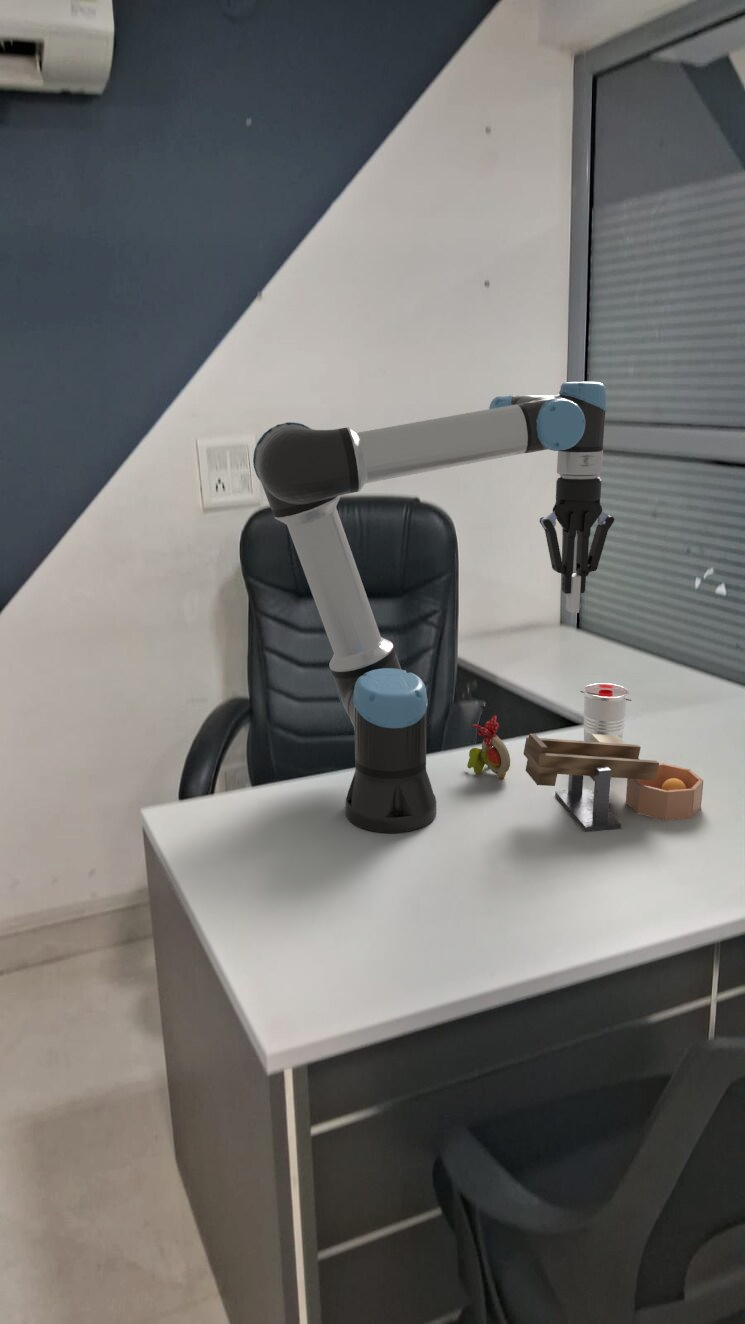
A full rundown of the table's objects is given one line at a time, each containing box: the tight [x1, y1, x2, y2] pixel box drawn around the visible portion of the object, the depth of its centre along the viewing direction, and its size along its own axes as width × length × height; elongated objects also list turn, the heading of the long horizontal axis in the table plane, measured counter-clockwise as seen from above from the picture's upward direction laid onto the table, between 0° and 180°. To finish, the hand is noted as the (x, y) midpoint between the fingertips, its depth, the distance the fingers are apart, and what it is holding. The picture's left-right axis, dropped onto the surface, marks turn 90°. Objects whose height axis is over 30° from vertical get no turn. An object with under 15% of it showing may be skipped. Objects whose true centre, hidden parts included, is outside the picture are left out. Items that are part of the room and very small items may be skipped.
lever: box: [523, 733, 660, 787], centre depth 166 cm, size 20×16×6 cm
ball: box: [662, 778, 686, 791], centre depth 166 cm, size 4×4×4 cm
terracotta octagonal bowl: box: [625, 763, 704, 821], centre depth 166 cm, size 11×11×5 cm
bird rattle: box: [466, 715, 511, 779], centre depth 179 cm, size 6×11×9 cm
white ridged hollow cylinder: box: [580, 682, 632, 742], centre depth 189 cm, size 10×8×12 cm
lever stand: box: [554, 766, 622, 833], centre depth 163 cm, size 6×14×10 cm, turn 10°
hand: (572, 610), depth 175 cm, fingers closed
